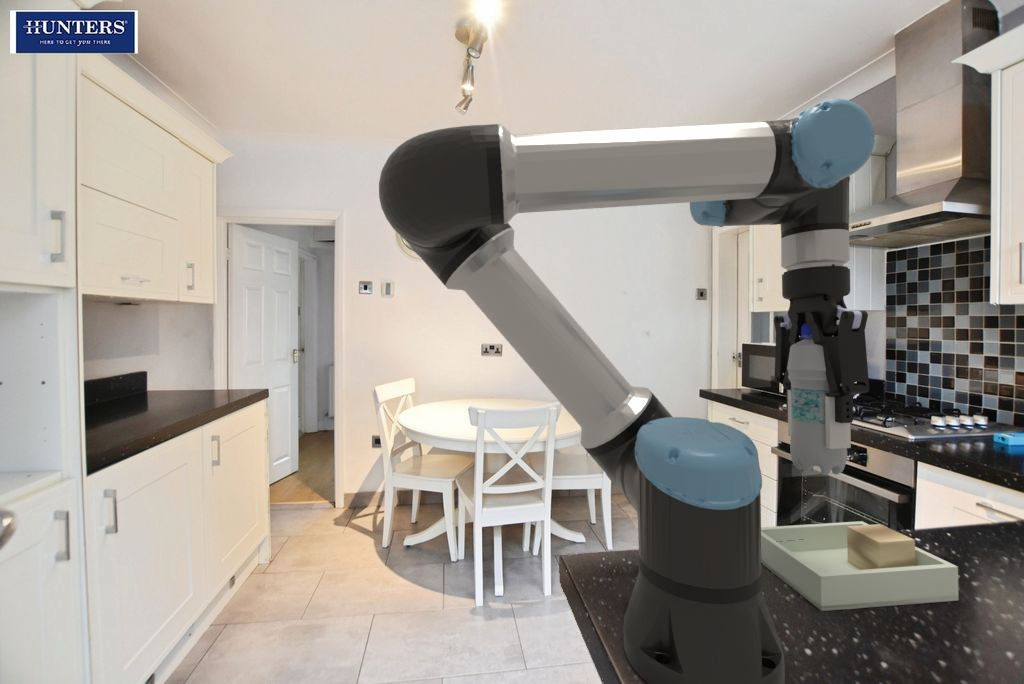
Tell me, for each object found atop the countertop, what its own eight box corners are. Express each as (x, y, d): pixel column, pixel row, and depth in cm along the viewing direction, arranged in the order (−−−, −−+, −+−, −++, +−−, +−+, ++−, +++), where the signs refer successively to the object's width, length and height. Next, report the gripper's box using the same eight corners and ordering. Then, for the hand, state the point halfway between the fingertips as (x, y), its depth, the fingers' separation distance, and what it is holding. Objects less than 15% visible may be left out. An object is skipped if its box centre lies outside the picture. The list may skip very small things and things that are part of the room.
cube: (915, 578, 59) (914, 539, 58) (880, 581, 58) (879, 542, 58) (880, 559, 64) (879, 524, 63) (847, 561, 63) (847, 526, 63)
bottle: (859, 479, 56) (857, 318, 56) (798, 476, 58) (795, 320, 58) (836, 464, 63) (834, 320, 62) (782, 462, 64) (779, 321, 64)
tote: (821, 611, 53) (821, 576, 53) (751, 555, 67) (750, 528, 67) (958, 600, 55) (958, 566, 55) (862, 548, 68) (861, 521, 68)
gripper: (909, 254, 51) (913, 459, 51) (791, 277, 70) (793, 426, 70) (847, 255, 50) (850, 462, 50) (744, 278, 69) (747, 428, 69)
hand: (817, 441), depth 60 cm, fingers closed on bottle, 6 cm apart
